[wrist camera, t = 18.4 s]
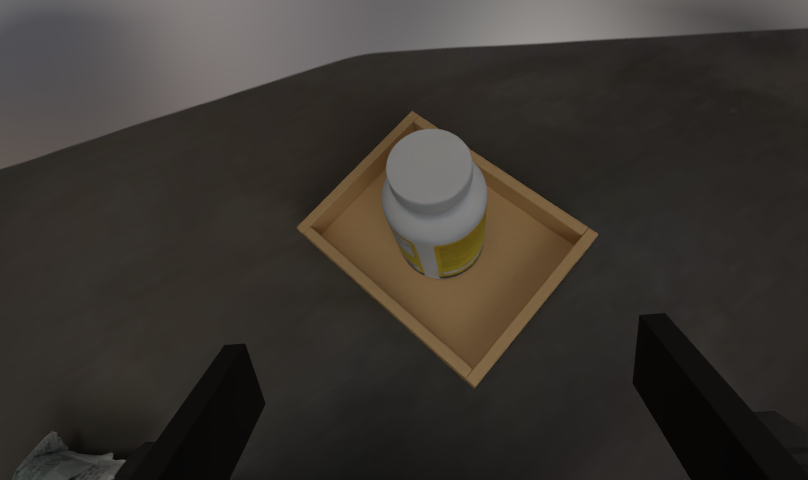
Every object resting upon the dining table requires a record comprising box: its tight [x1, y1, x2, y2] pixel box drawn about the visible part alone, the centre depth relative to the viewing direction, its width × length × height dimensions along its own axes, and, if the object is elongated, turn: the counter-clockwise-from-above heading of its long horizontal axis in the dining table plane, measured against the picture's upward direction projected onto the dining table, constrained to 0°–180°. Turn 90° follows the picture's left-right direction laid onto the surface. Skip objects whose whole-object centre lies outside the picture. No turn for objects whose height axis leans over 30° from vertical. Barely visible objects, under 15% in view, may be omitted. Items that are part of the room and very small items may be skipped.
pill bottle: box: [382, 129, 487, 279], centre depth 28 cm, size 6×6×12 cm
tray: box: [297, 111, 598, 388], centre depth 33 cm, size 18×14×3 cm
